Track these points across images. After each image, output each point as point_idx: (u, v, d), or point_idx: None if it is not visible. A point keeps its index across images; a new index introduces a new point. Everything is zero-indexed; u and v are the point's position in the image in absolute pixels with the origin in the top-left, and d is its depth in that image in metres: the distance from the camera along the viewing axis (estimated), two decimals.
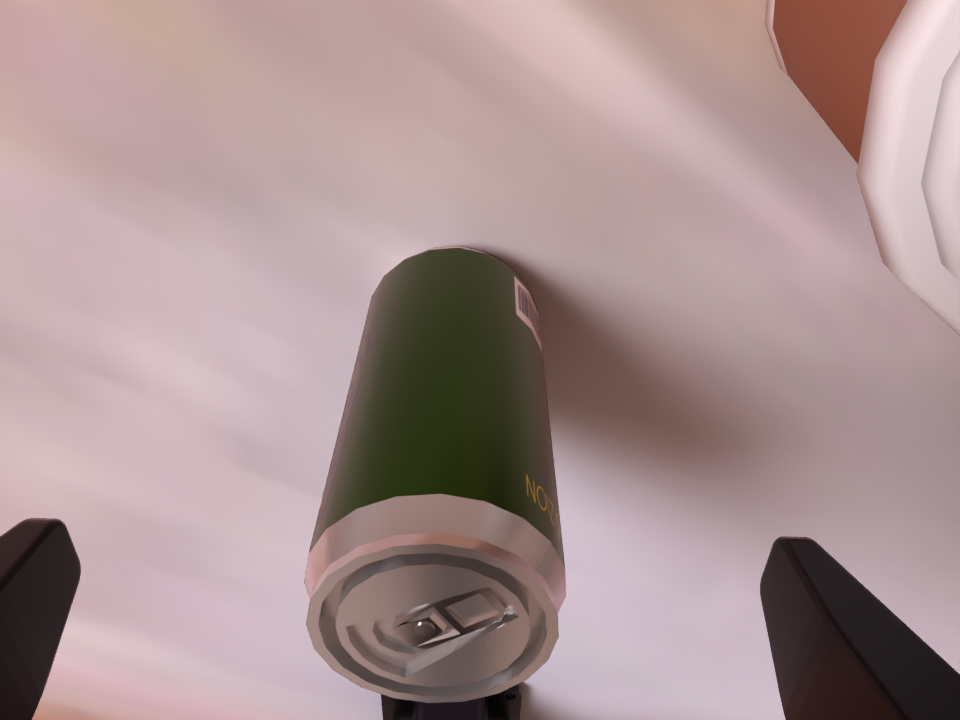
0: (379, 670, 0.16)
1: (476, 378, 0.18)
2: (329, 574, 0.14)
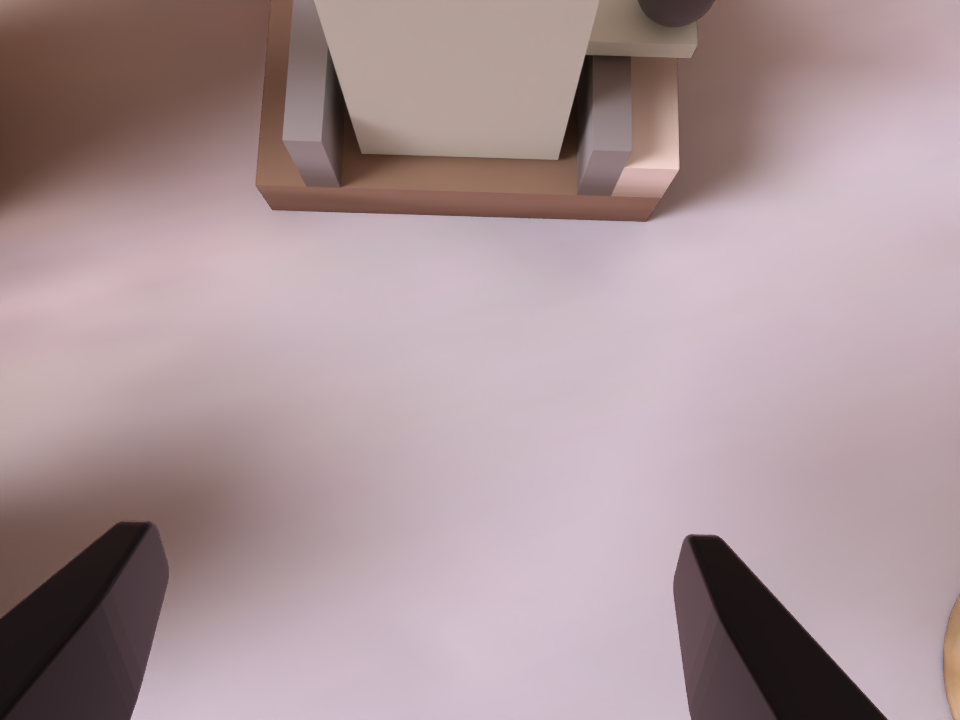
0: None
1: None
2: None
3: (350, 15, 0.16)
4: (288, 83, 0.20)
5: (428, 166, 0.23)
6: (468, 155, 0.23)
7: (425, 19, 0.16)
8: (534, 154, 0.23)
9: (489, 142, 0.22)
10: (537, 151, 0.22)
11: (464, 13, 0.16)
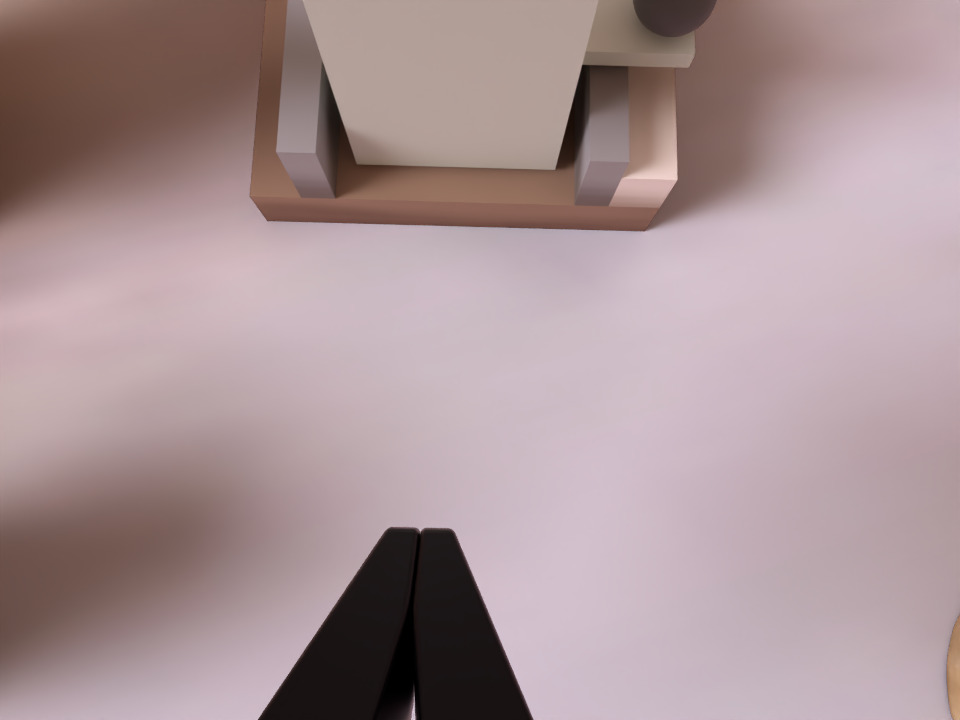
0: None
1: None
2: None
3: (343, 27, 0.16)
4: (282, 94, 0.20)
5: (424, 176, 0.23)
6: (464, 165, 0.23)
7: (419, 31, 0.16)
8: (532, 164, 0.22)
9: (485, 152, 0.22)
10: (534, 161, 0.22)
11: (459, 24, 0.16)
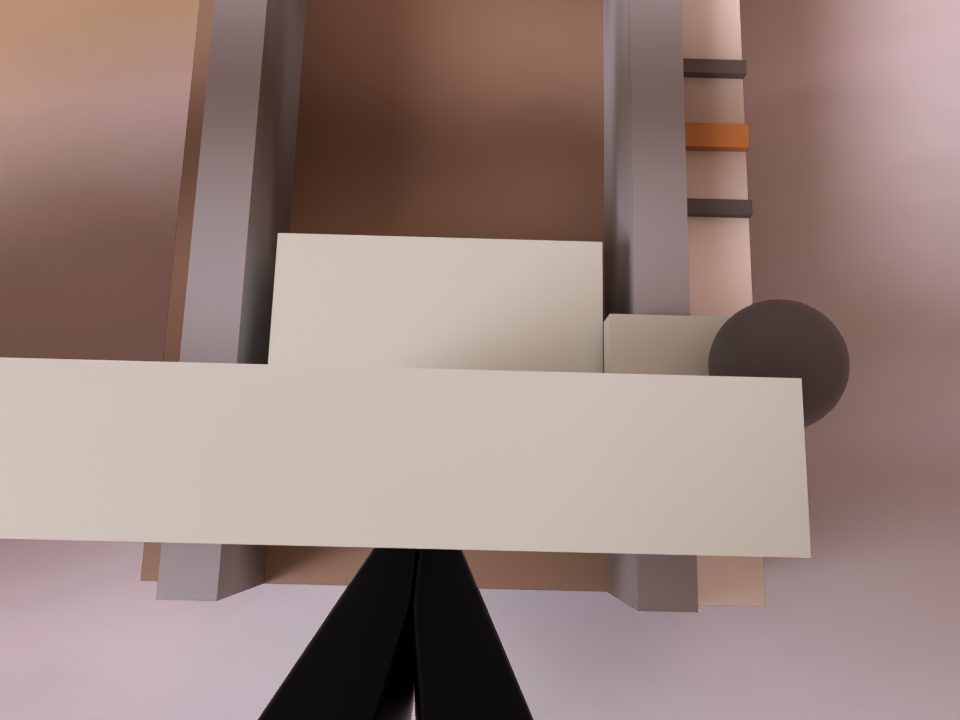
0: None
1: None
2: None
3: None
4: None
5: None
6: None
7: None
8: None
9: None
10: None
11: None
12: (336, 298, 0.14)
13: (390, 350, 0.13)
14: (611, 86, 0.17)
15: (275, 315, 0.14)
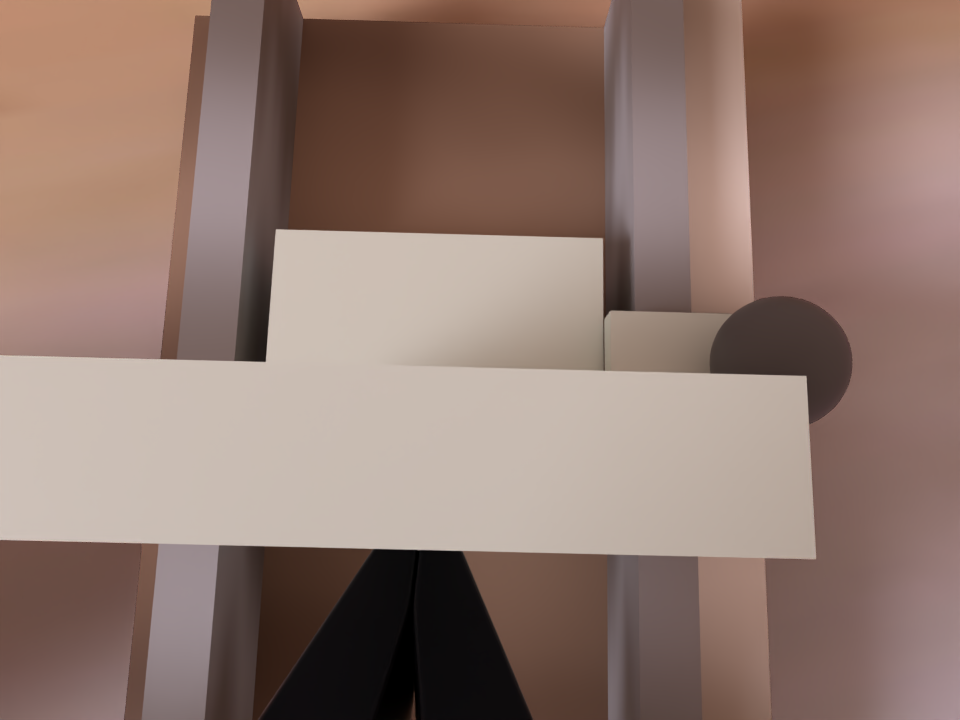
0: None
1: None
2: None
3: None
4: None
5: None
6: None
7: None
8: None
9: None
10: None
11: None
12: (334, 295, 0.14)
13: (390, 347, 0.13)
14: None
15: (273, 312, 0.13)
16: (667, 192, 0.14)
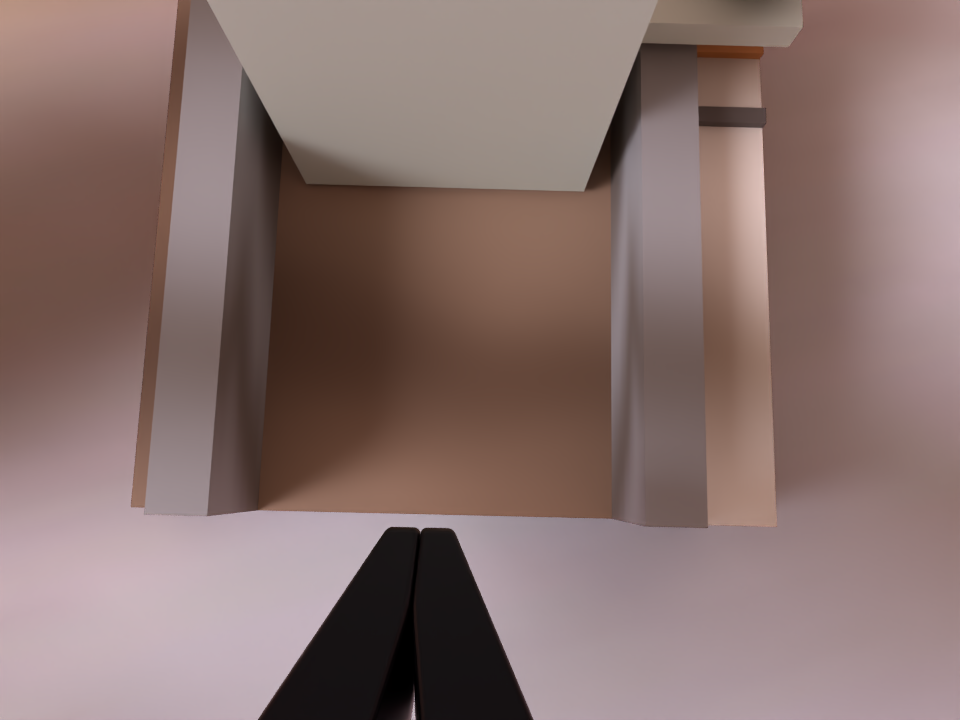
0: None
1: None
2: None
3: None
4: (155, 415, 0.13)
5: (389, 474, 0.15)
6: (457, 185, 0.16)
7: None
8: (551, 184, 0.16)
9: (487, 169, 0.15)
10: (555, 181, 0.16)
11: None
12: None
13: None
14: None
15: None
16: None
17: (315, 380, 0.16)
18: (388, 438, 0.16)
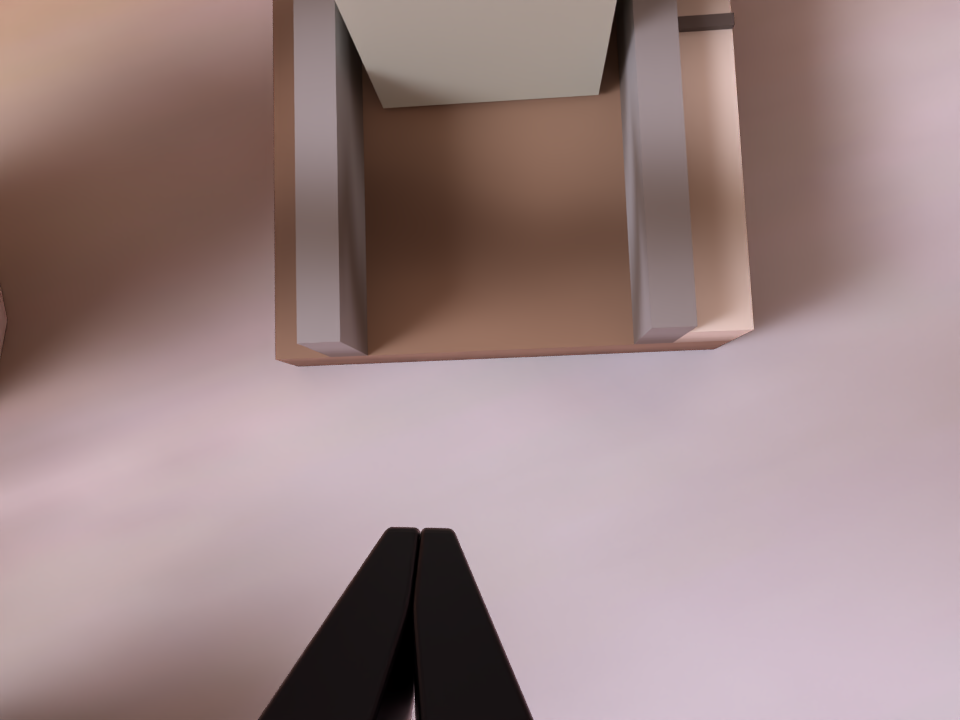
0: None
1: None
2: None
3: None
4: (298, 275, 0.18)
5: (463, 322, 0.21)
6: (499, 98, 0.21)
7: None
8: (572, 90, 0.20)
9: (521, 82, 0.20)
10: (575, 87, 0.20)
11: None
12: None
13: None
14: None
15: None
16: None
17: (402, 257, 0.21)
18: (460, 296, 0.21)
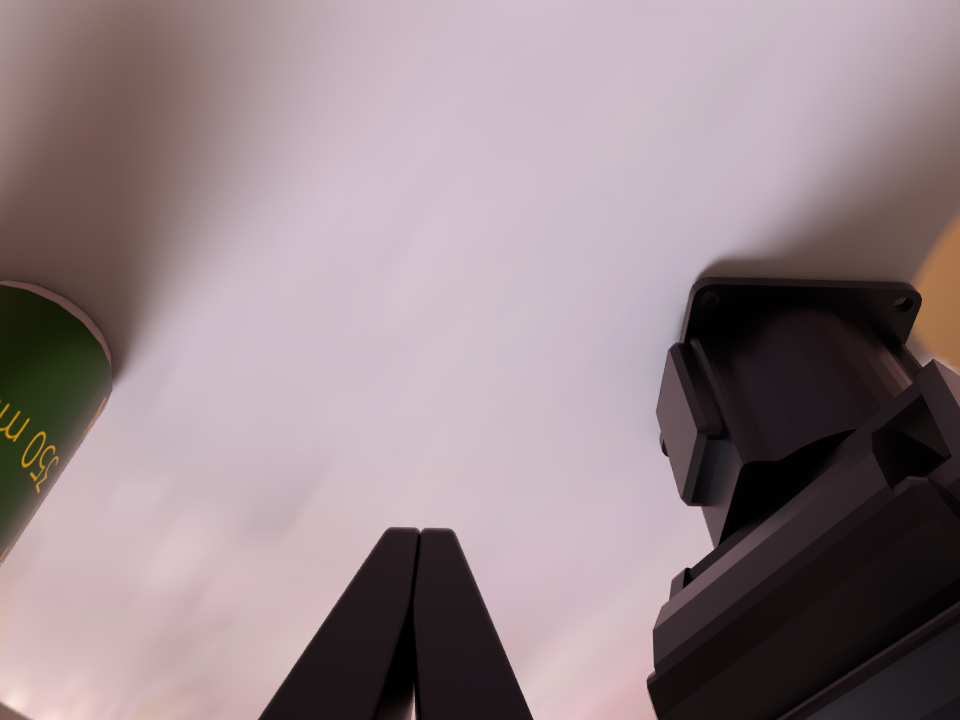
0: None
1: None
2: None
3: None
4: None
5: None
6: None
7: None
8: None
9: None
10: None
11: None
12: None
13: None
14: None
15: None
16: None
17: None
18: None
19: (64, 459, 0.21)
